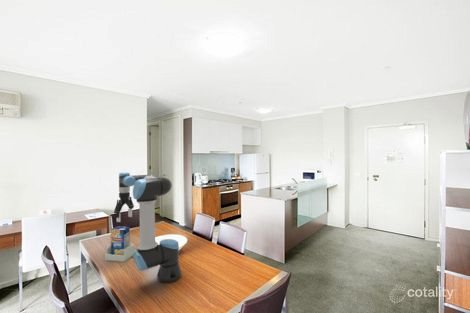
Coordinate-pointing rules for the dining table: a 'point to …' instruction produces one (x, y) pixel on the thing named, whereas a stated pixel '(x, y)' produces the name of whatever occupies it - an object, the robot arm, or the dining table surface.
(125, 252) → the crate
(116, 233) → the beverage box
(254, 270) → the dining table surface
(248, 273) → the dining table surface
